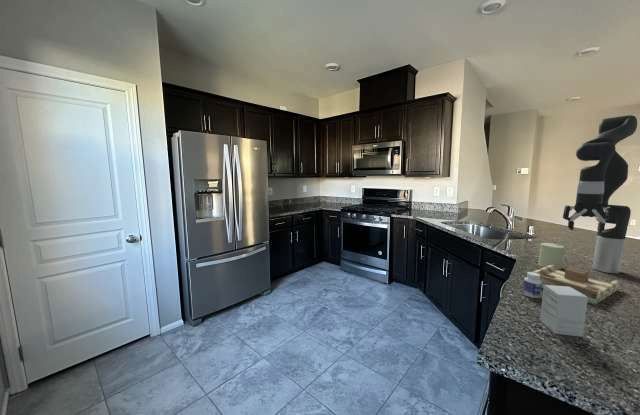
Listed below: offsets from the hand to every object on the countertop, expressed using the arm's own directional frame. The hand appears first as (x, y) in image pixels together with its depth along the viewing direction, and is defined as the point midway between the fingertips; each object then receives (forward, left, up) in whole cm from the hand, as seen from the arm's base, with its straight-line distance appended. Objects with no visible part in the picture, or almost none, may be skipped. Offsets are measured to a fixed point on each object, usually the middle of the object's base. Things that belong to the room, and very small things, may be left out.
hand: (585, 230), depth 106 cm
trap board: (+3, -1, -24) cm, 25 cm away
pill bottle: (+28, -5, -25) cm, 38 cm away
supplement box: (+47, +10, -25) cm, 54 cm away
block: (-3, -1, -22) cm, 23 cm away
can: (-20, -16, -25) cm, 36 cm away
